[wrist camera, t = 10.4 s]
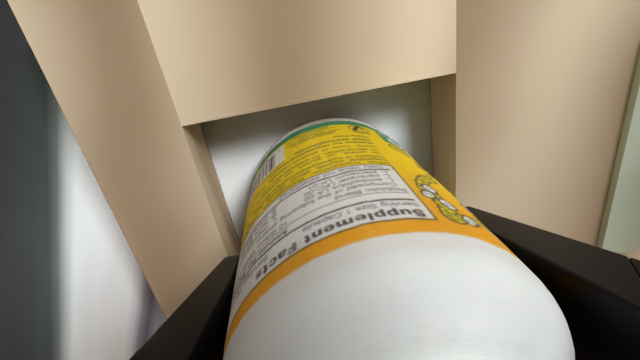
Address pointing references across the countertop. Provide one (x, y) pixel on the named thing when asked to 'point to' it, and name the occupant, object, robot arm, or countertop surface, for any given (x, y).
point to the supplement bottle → (376, 262)
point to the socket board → (339, 79)
